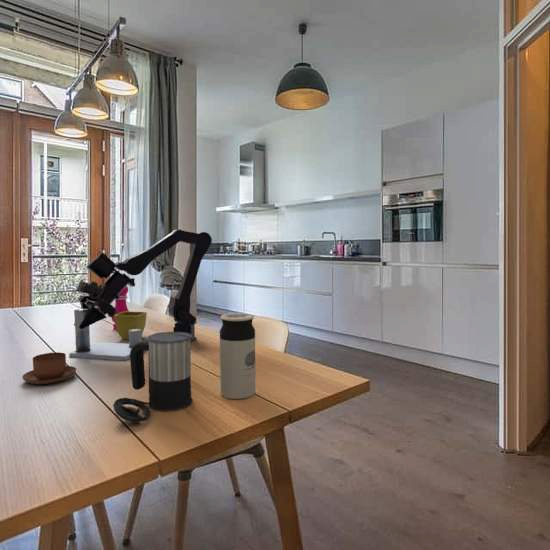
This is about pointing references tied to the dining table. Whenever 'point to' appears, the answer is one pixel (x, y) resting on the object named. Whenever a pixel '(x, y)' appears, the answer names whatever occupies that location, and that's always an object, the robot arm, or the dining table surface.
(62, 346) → the dining table surface
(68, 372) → the cup and saucer
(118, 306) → the pepper mill
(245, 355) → the travel mug
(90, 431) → the dining table surface
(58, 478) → the dining table surface
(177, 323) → the robot arm
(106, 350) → the flange plate
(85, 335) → the grey metallic rounded cylinder
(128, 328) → the flower pot
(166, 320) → the dining table surface
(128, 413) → the milk frother
